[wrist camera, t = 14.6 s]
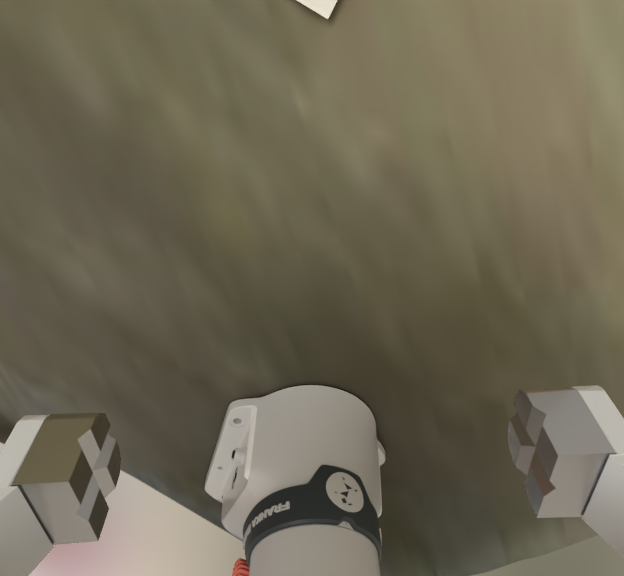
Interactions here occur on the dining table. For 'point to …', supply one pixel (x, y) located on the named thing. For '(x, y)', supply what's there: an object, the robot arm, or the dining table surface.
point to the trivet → (320, 6)
